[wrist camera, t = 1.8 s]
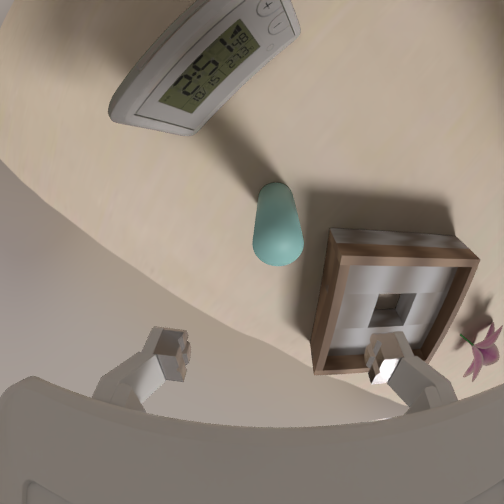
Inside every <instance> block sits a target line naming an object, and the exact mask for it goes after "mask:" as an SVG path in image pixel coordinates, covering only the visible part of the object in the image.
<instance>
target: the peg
mask: <svg viewBox="0 0 504 504" xmlns="http://www.w3.org/2000/svg"><path fill="white" fill-rule="evenodd" d="M303 246H304V240H303V235H302V231H301V227H300V223H299V218H298V214H297V210H296V206H295V202H294V198H293V194H292V192H291V190H290V189H289V188H288V187H287V186H286V185H284V184H282V183H270V184H268V185H266V186H264V187H263V188H262V190H261V191H260V193H259V197H258V204H257V212H256V220H255V227H254V235H253V250H254V252H255V254H256V256H257V257H258V258H259V259H260V260H261V261H263V262H264V263H266V264H269V265H272V266H284V265H287V264H290V263H292V262H293V261H295V260H296V259H297V258H298V257H299V256H300V254H301V252H302V250H303Z"/></svg>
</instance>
